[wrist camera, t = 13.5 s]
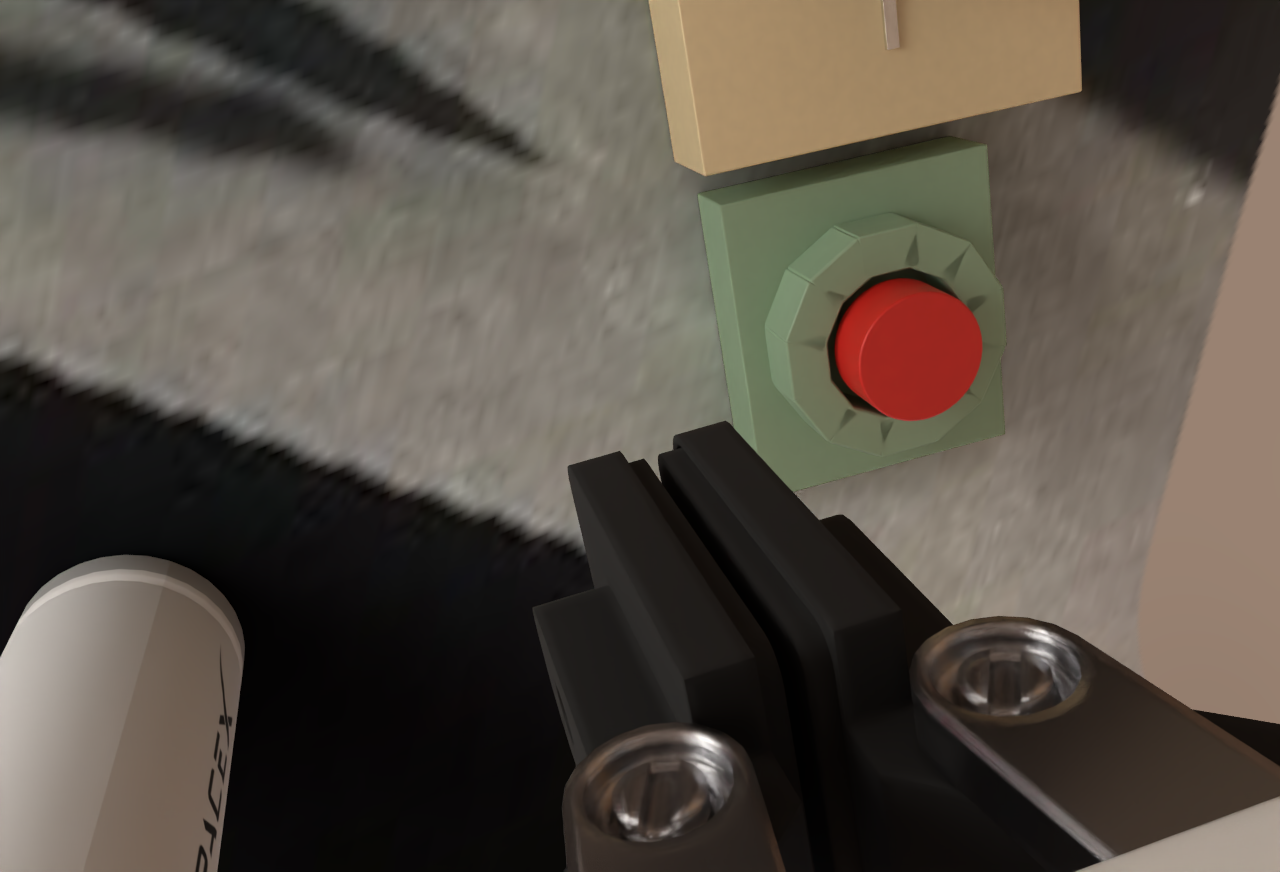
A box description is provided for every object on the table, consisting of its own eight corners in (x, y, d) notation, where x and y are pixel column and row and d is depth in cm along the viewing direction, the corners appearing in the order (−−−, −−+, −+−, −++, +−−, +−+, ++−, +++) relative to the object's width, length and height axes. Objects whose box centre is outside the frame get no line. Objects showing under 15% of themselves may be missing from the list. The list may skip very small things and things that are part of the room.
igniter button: (826, 294, 33) (852, 309, 31) (947, 264, 33) (979, 278, 32) (841, 415, 34) (866, 436, 32) (957, 384, 34) (987, 403, 33)
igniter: (696, 193, 34) (740, 216, 31) (950, 135, 36) (1021, 151, 32) (740, 473, 38) (784, 524, 34) (971, 412, 39) (1037, 454, 36)
